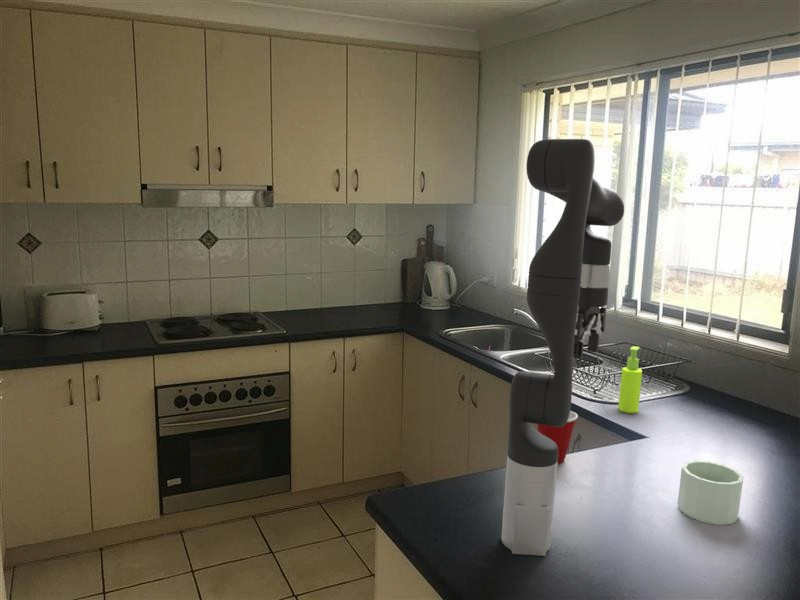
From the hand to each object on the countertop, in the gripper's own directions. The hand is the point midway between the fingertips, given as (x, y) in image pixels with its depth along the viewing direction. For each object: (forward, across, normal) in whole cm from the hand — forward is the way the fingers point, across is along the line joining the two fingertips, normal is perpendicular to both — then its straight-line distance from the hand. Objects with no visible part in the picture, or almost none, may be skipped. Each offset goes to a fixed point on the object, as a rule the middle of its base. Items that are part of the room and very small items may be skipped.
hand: (584, 354), depth 151 cm
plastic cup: (+30, -8, -10) cm, 33 cm away
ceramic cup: (+30, -6, +28) cm, 42 cm away
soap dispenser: (+30, -61, -10) cm, 69 cm away
